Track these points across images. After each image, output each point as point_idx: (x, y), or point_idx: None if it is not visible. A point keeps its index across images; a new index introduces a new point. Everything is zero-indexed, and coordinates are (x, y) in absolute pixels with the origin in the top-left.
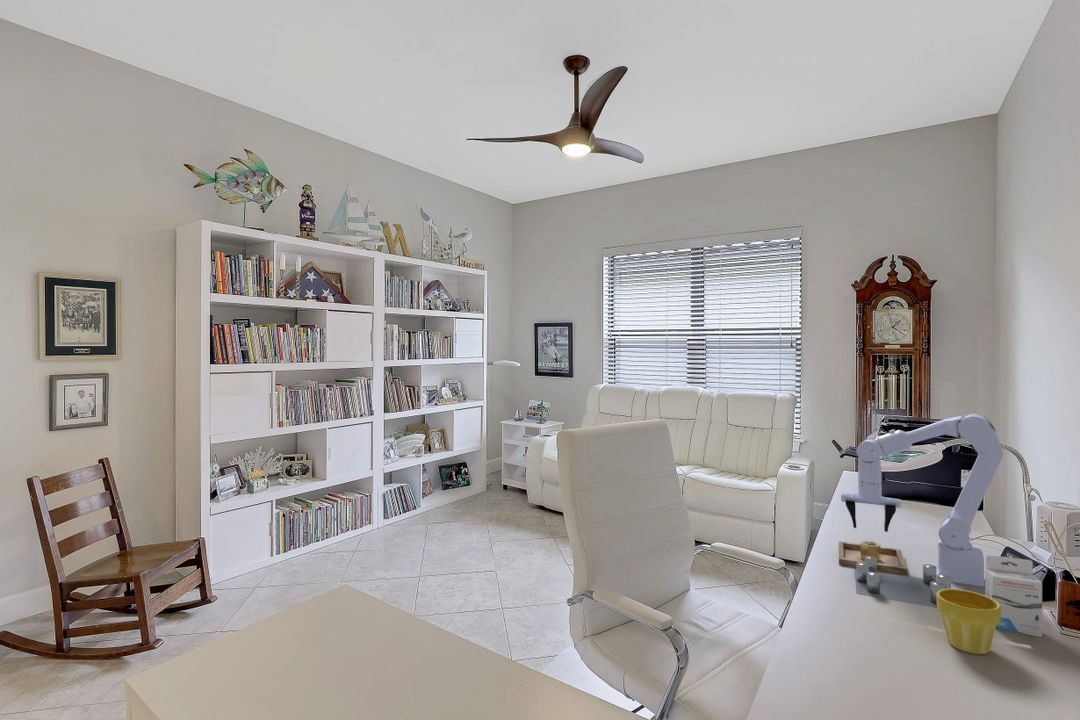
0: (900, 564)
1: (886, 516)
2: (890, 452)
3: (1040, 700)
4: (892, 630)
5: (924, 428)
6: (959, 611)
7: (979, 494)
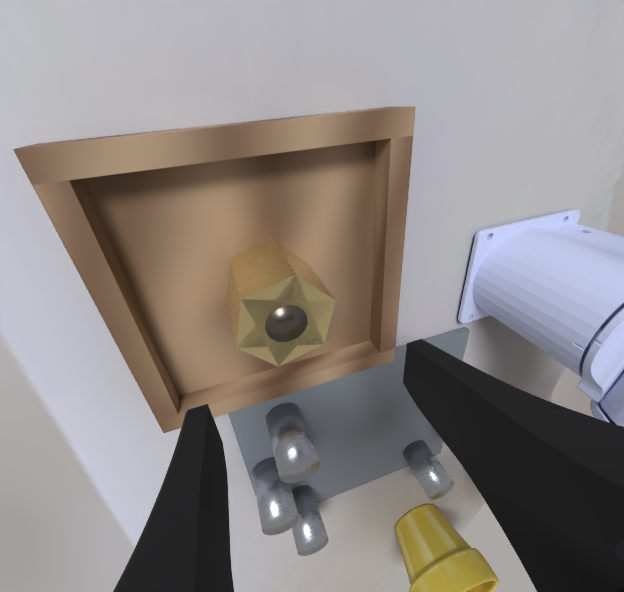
0: (380, 333)
1: (497, 512)
2: None
3: None
4: (329, 555)
5: None
6: None
7: None
